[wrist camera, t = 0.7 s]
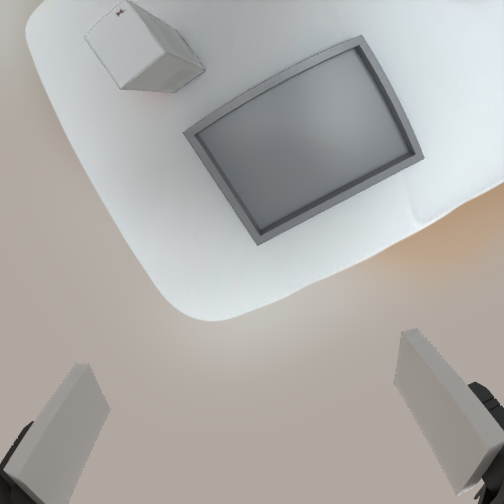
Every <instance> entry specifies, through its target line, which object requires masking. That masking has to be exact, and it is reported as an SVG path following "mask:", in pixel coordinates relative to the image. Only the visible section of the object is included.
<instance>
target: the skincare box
mask: <svg viewBox="0 0 504 504" xmlns="http://www.w3.org/2000/svg"><path fill="white" fill-rule="evenodd" d="M84 38H85V40H86V41H87V43H88V44H89V46H90V47H91V48H92V50H93V51H94V53H95V54H96V56H97V57H98V59H99V60H100V61H101V63H102V64H103V65H104V67H105V68H106V70H107V71H108V72H109V74H110V75H111V77H112V78H113V80H114V81H115V82H116V84H117V85H118V87H119V88H120V89H122V90H142V91H157V92H169V93H174V92H176V91H177V90H178V89H180V88H181V87H182V86H184V85H185V84H187V83H188V82H190V81H191V80H193V79H194V78H195V77H197V76H198V75H200V74H201V73H203V72H204V71H205V68H204V67H203V65H202V64H201V63H200V61H199V60H198V59H197V57H196V56H195V55H194V53H193V52H192V51H191V49H190V48H189V47H188V45H187V44H186V43H185V41H184V40H183V39H182V37H181V36H180V35H179V34H178V32H177V31H176V30H175V29H173V28H172V27H170V26H169V25H167V24H166V23H164V22H163V21H161V20H160V19H158V18H156V17H155V16H153V15H152V14H150V13H149V12H147V11H145V10H144V9H142V8H141V7H139V6H138V5H136V4H134V3H132V2H130V1H129V0H123V1H122V2H121V3H120V4H119V5H117V6H116V7H115V8H114V9H113V10H112V11H110V12H109V13H108V14H107V15H106V16H105V17H104V18H103V19H101V20H100V21H99V22H98V23H97V24H96V25H95V26H94V27H93V28H92V29H91V30H90V31H89V32H88V33H87V34H86V35H85V36H84Z"/></svg>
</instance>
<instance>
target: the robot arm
mask: <svg viewBox="0 0 504 504" xmlns="http://www.w3.org/2000/svg"><path fill="white" fill-rule="evenodd" d="M394 384H395V385H396V387H397V389H398V390H399V392H400V394H401V396H402V397H403V399H404V401H405V402H406V404H407V406H408V408H409V409H410V411H411V412H412V414H413V416H414V418H415V420H416V421H417V423H418V425H419V427H420V429H421V430H422V432H423V434H424V436H425V437H426V439H427V441H428V443H429V445H430V447H431V448H432V450H433V452H434V454H435V456H436V458H437V460H438V461H439V463H440V465H441V467H442V469H443V471H444V473H445V475H446V476H447V479H448V480H449V482H450V484H451V486H452V488H453V490H454V492H455V494H456V496H458V495H460V494H462V493H464V492H466V491H468V490H470V489H472V488H474V487H475V486H476V485H477V483H478V482H479V480H480V479H481V478H482V479H483V481H484V483H485V484H484V485H483V486H482V488H481V489H480V490H479V492H478V493H477V494H476V496H475V498H474V499H477V498H478V497H479V496H480V498H479V502H478V504H504V408H503V407H502V406H500V403H499V402H498V401H497V399H494V396H493V395H492V394H491V393H490V391H489V390H488V389H487V388H486V387H484V386H482V385H481V384H479V383H477V382H473V383H471V384H469V385H467V384H466V383H465V382H464V381H463V380H462V378H461V377H460V376H459V375H458V374H457V373H456V371H455V370H454V369H453V368H452V367H451V366H450V365H449V363H448V362H447V361H446V360H445V359H444V358H443V356H442V355H441V354H440V353H439V352H438V351H437V350H436V348H435V347H434V346H433V345H432V344H431V343H430V342H429V341H428V340H427V338H426V337H425V336H424V335H423V334H422V333H421V332H420V331H419V330H418V329H417V328H416V329H412V330H407V331H403V332H401V339H400V347H399V355H398V361H397V368H396V374H395V380H394ZM110 410H111V409H110V407H109V405H108V403H107V401H106V399H105V397H104V395H103V393H102V391H101V389H100V387H99V384H98V382H97V380H96V378H95V376H94V374H93V371H92V369H91V367H90V365H89V364H75V365H74V367H73V368H72V369H71V371H70V372H69V373H68V375H67V376H66V378H65V379H64V380H63V381H62V383H61V384H60V386H59V387H58V388H57V390H56V391H55V393H54V394H53V395H52V397H51V398H50V400H49V401H48V403H47V404H46V405H45V407H44V408H43V410H42V411H41V413H40V414H39V415H38V417H37V418H36V420H35V421H34V422H33V421H32V422H31V423H30V424H28V425H27V426H26V427H25V428H24V429H23V430H22V431H21V433H20V434H19V436H18V439H16V441H15V442H14V445H12V446H11V448H10V449H9V451H8V453H7V454H6V456H5V457H4V459H3V461H2V462H1V464H0V504H68V503H69V500H70V498H71V496H72V494H73V491H74V489H75V487H76V484H77V482H78V480H79V477H80V475H81V473H82V470H83V468H84V466H85V463H86V462H87V459H88V457H89V455H90V453H91V451H92V448H93V446H94V444H95V442H96V440H97V438H98V435H99V433H100V431H101V429H102V427H103V425H104V423H105V420H106V419H107V417H108V414H109V412H110Z"/></svg>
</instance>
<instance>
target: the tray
mask: <svg viewBox="0 0 504 504" xmlns="http://www.w3.org/2000/svg"><path fill="white" fill-rule="evenodd" d="M183 134H184V135H185V137H186V138H187V140H188V141H189V143H190V144H191V146H192V147H193V149H194V150H195V152H196V153H197V155H198V156H199V158H200V159H201V161H202V162H203V164H204V165H205V167H206V168H207V170H208V171H209V173H210V175H211V176H212V178H213V179H214V181H215V182H216V184H217V185H218V187H219V188H220V190H221V191H222V193H223V194H224V196H225V197H226V199H227V200H228V202H229V203H230V205H231V206H232V208H233V209H234V211H235V212H236V214H237V215H238V217H239V218H240V220H241V222H242V223H243V225H244V226H245V228H246V229H247V231H248V232H249V234H250V235H251V237H252V238H253V240H254V241H255V243H256V244H257V246H258V245H260V244H262V243H264V242H266V241H268V240H270V239H272V238H274V237H275V236H277V235H279V234H281V233H283V232H285V231H287V230H289V229H291V228H293V227H294V226H296V225H298V224H300V223H302V222H304V221H306V220H308V219H310V218H312V217H314V216H315V215H317V214H319V213H321V212H323V211H325V210H327V209H329V208H331V207H333V206H335V205H336V204H338V203H340V202H342V201H344V200H346V199H348V198H350V197H352V196H354V195H356V194H357V193H359V192H361V191H363V190H365V189H367V188H369V187H371V186H373V185H375V184H377V183H378V182H380V181H382V180H384V179H386V178H388V177H390V176H392V175H394V174H396V173H398V172H400V171H401V170H403V169H405V168H407V167H409V166H411V165H413V164H415V163H417V162H419V161H421V160H423V159H425V158H424V155H423V153H422V150H421V148H420V145H419V143H418V141H417V138H416V136H415V134H414V131H413V129H412V127H411V125H410V122H409V120H408V118H407V116H406V114H405V112H404V110H403V107H402V105H401V103H400V101H399V99H398V97H397V95H396V93H395V91H394V90H393V88H392V86H391V84H390V82H389V80H388V78H387V76H386V75H385V73H384V71H383V69H382V67H381V66H380V64H379V62H378V61H377V59H376V57H375V55H374V54H373V52H372V50H371V49H370V47H369V46H368V44H367V42H366V41H365V39H364V38H363V36H362V35H360V36H358V37H355V38H353V39H350V40H348V41H346V42H343V43H341V44H339V45H336V46H334V47H332V48H330V49H328V50H325V51H323V52H321V53H319V54H317V55H315V56H313V57H311V58H309V59H307V60H304V61H302V62H300V63H298V64H296V65H295V66H293V67H291V68H289V69H287V70H285V71H283V72H281V73H279V74H277V75H275V76H274V77H272V78H270V79H268V80H266V81H265V82H263V83H261V84H259V85H257V86H256V87H254V88H252V89H251V90H249V91H247V92H245V93H244V94H242V95H240V96H239V97H237V98H235V99H234V100H232V101H230V102H229V103H227V104H226V105H224V106H222V107H221V108H219V109H218V110H216V111H215V112H213V113H211V114H210V115H208V116H207V117H205V118H204V119H202V120H201V121H199V122H198V123H196V124H195V125H193V126H192V127H190V128H189V129H188V130H186V131H185V132H183Z"/></svg>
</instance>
